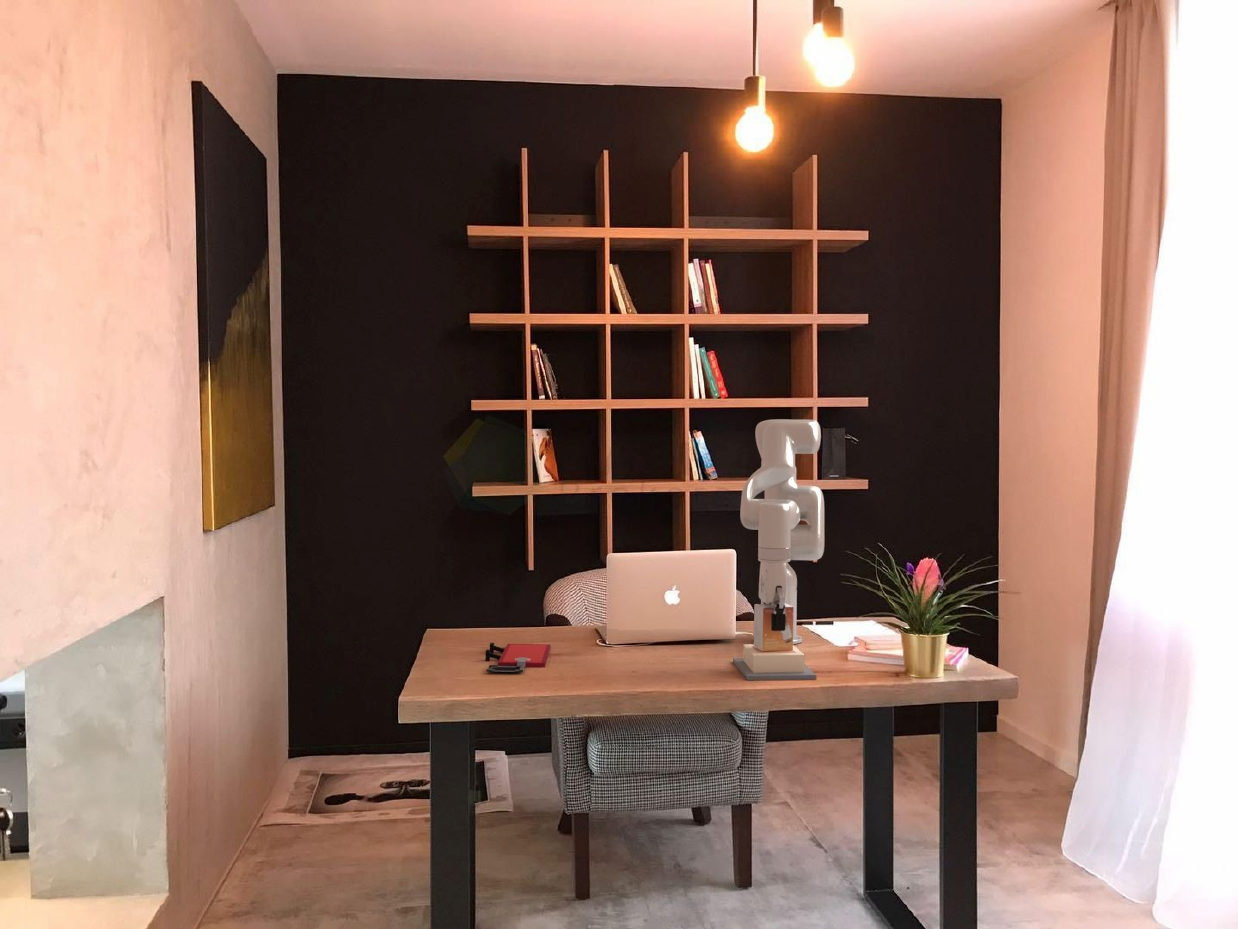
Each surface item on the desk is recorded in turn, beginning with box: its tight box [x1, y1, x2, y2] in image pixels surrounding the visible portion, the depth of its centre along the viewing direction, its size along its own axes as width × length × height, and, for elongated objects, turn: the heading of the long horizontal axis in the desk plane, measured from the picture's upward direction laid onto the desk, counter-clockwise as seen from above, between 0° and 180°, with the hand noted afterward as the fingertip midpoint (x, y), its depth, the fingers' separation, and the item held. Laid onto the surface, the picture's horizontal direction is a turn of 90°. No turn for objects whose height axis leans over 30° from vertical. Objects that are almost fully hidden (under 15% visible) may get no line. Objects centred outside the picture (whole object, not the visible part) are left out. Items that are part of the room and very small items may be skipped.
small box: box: [753, 603, 794, 651], centre depth 240 cm, size 8×6×10 cm
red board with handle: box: [484, 642, 551, 673], centre depth 250 cm, size 30×3×15 cm
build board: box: [732, 643, 817, 681], centre depth 240 cm, size 18×16×5 cm
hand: (773, 626), depth 240 cm, fingers open, 9 cm apart
